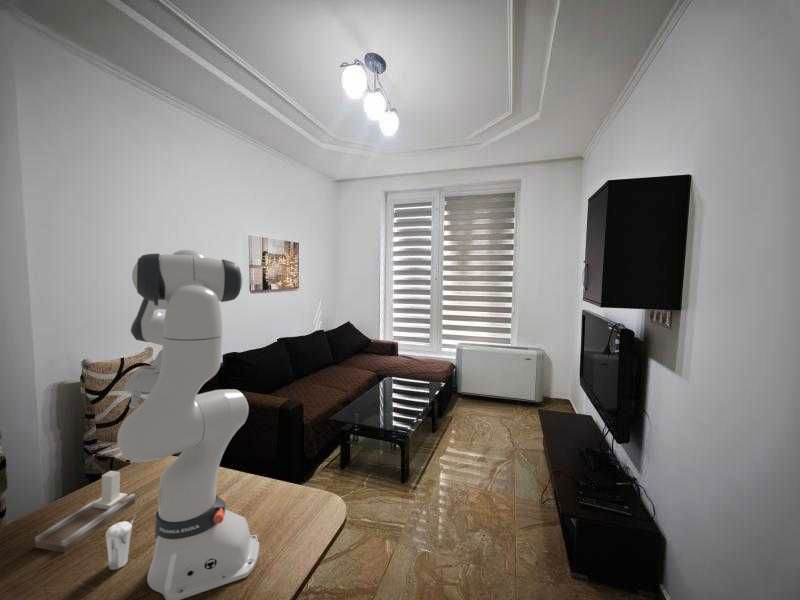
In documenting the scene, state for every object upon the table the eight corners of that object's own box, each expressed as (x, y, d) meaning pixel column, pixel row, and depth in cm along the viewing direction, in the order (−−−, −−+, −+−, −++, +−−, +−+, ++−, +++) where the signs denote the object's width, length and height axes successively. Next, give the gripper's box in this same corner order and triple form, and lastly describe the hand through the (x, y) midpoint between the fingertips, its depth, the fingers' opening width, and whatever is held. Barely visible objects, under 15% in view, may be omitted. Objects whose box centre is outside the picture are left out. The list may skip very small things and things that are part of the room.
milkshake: (139, 559, 77) (139, 518, 76) (109, 576, 72) (110, 532, 72) (130, 550, 79) (131, 509, 79) (101, 565, 75) (102, 522, 74)
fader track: (110, 498, 96) (110, 489, 96) (135, 502, 95) (135, 493, 95) (34, 547, 79) (35, 536, 78) (64, 552, 78) (64, 541, 77)
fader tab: (111, 495, 95) (111, 467, 95) (127, 498, 94) (128, 469, 94) (92, 507, 90) (93, 477, 90) (110, 509, 90) (110, 480, 89)
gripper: (133, 361, 109) (107, 403, 100) (191, 362, 106) (170, 405, 98) (146, 369, 114) (123, 410, 105) (202, 371, 111) (183, 413, 103)
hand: (146, 408), depth 102 cm, fingers open, 8 cm apart
